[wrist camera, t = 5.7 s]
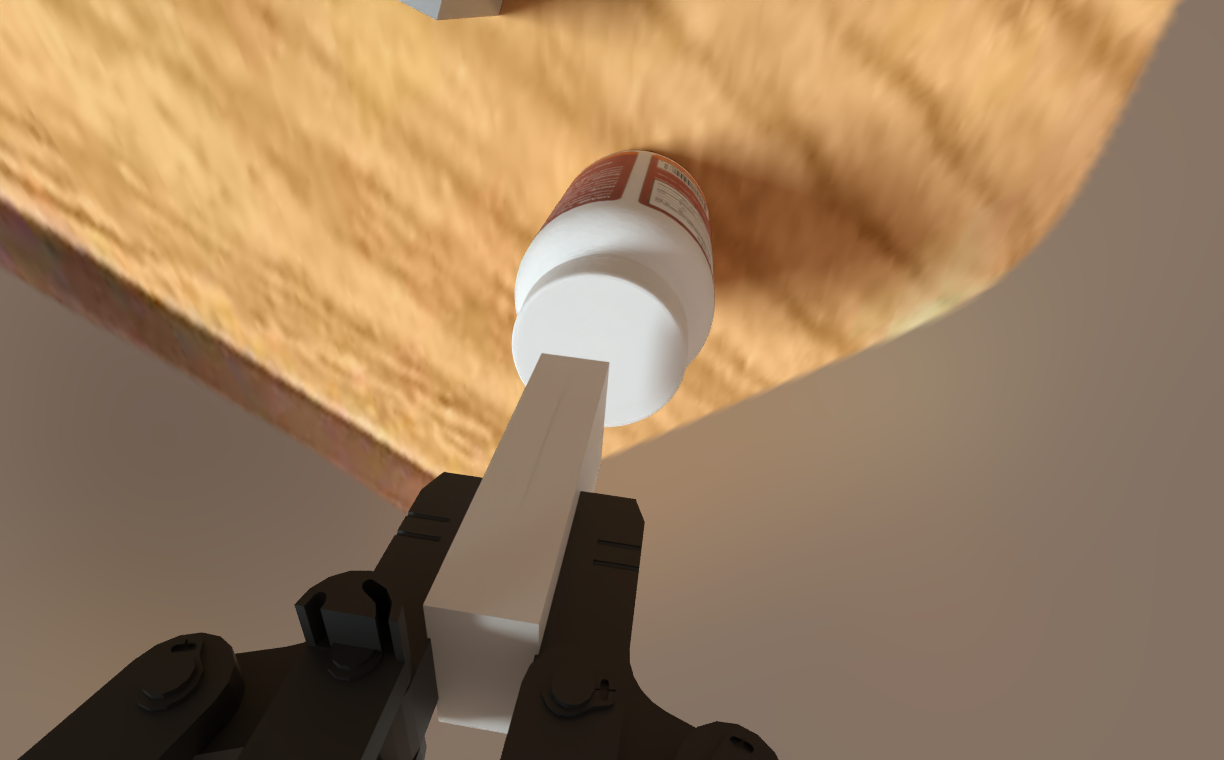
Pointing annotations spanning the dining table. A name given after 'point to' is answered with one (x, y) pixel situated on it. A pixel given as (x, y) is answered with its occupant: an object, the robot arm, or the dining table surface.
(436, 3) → the grey block
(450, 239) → the dining table surface
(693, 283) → the pill bottle
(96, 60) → the dining table surface
